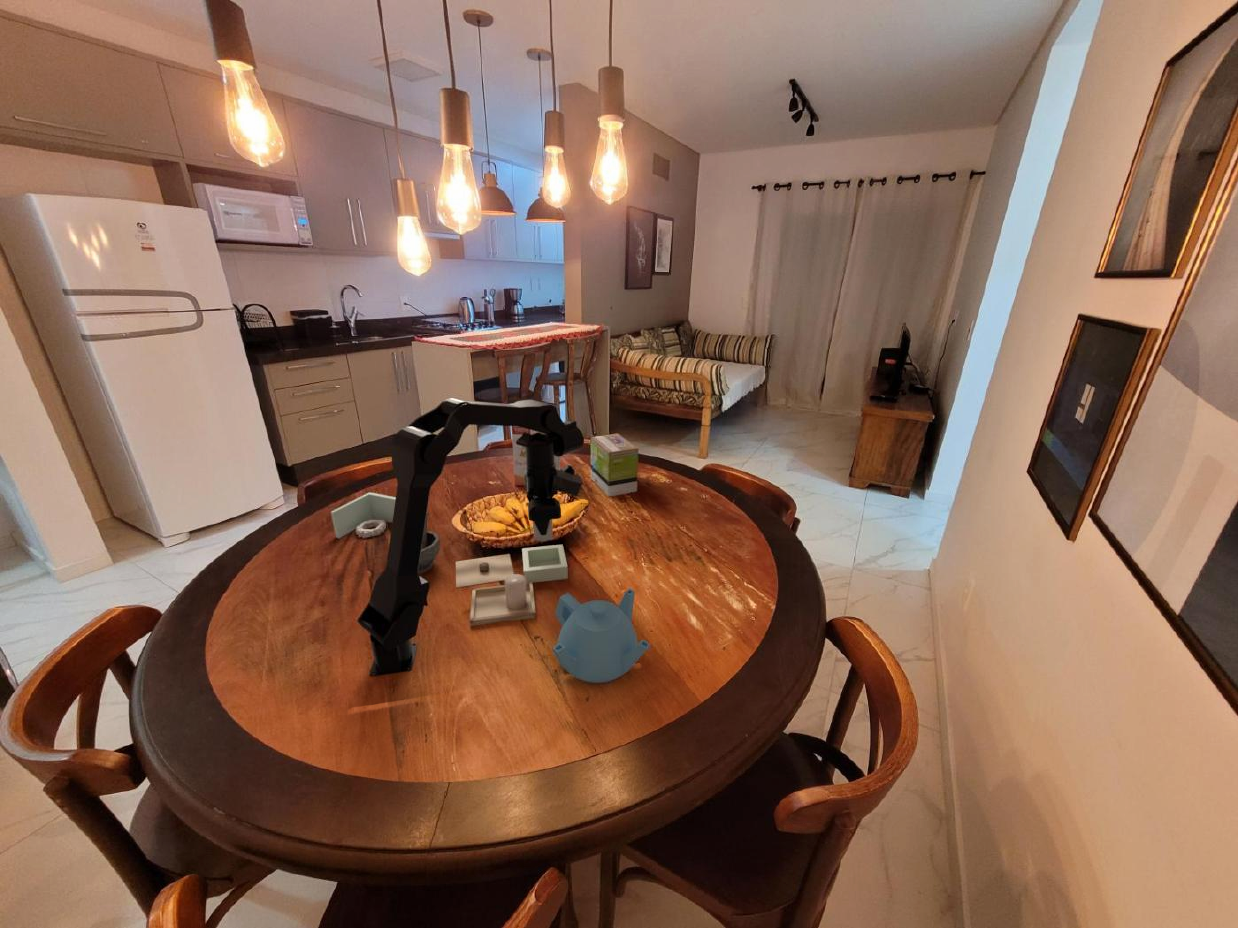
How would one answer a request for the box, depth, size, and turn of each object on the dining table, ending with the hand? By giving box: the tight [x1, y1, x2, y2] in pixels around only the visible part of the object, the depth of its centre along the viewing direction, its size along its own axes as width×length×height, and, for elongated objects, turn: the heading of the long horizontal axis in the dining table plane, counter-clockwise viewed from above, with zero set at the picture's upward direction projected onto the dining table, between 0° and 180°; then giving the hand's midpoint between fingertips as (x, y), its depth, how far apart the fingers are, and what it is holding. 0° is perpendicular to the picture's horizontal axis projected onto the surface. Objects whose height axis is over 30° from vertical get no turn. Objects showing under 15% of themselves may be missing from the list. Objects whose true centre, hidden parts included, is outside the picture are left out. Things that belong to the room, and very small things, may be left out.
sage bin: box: [521, 544, 569, 584], centre depth 106 cm, size 9×9×4 cm
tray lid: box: [455, 553, 515, 589], centre depth 105 cm, size 10×12×2 cm
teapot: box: [552, 588, 652, 684], centre depth 81 cm, size 15×15×11 cm
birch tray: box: [469, 582, 537, 627], centre depth 95 cm, size 10×12×2 cm
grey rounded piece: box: [532, 519, 554, 542], centre depth 103 cm, size 4×4×6 cm
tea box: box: [590, 433, 639, 497], centre depth 148 cm, size 15×10×15 cm, turn 25°
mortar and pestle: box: [418, 511, 441, 575], centre depth 105 cm, size 11×9×12 cm
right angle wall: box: [330, 491, 396, 539], centre depth 120 cm, size 12×12×8 cm
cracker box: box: [511, 426, 561, 486], centre depth 148 cm, size 14×6×21 cm, turn 93°
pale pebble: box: [504, 573, 527, 610], centre depth 94 cm, size 4×4×6 cm
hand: (542, 529), depth 103 cm, fingers closed on grey rounded piece, 4 cm apart
